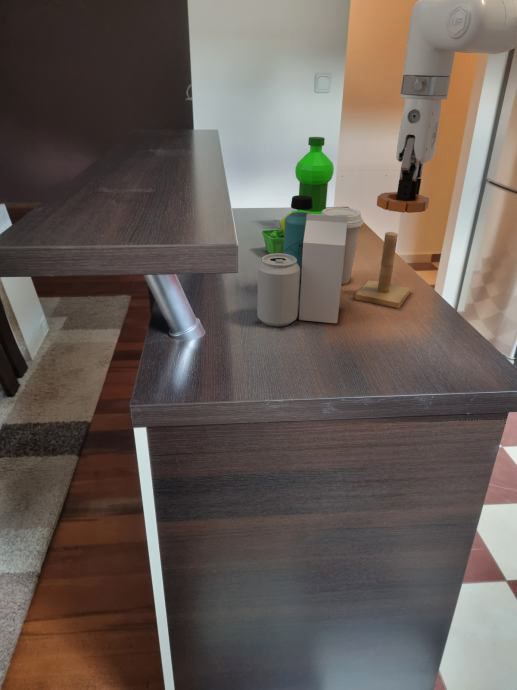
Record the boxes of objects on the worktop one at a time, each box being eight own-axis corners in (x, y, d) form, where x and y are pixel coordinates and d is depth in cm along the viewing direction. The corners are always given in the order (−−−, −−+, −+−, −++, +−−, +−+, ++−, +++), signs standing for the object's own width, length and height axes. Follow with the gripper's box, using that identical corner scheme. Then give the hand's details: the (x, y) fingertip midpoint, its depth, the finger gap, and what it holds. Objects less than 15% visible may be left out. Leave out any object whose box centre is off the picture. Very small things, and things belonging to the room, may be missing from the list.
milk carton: (337, 324, 94) (347, 221, 85) (298, 320, 95) (304, 219, 86) (338, 308, 100) (348, 211, 91) (302, 305, 102) (308, 209, 92)
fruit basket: (300, 245, 135) (303, 202, 130) (315, 256, 128) (318, 211, 123) (260, 250, 132) (260, 205, 126) (273, 261, 124) (274, 214, 119)
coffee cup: (309, 284, 111) (314, 215, 104) (317, 269, 119) (322, 204, 112) (354, 289, 109) (362, 219, 102) (358, 274, 117) (366, 208, 110)
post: (409, 293, 108) (420, 231, 102) (398, 308, 101) (408, 243, 95) (368, 285, 112) (375, 225, 105) (354, 299, 105) (362, 236, 98)
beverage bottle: (273, 293, 107) (277, 195, 97) (295, 285, 111) (301, 191, 101) (296, 303, 103) (302, 201, 93) (318, 294, 107) (326, 196, 97)
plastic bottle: (303, 237, 142) (309, 141, 130) (287, 227, 151) (291, 136, 139) (335, 233, 146) (343, 139, 134) (317, 224, 154) (323, 134, 142)
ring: (431, 204, 92) (432, 195, 92) (421, 215, 86) (422, 205, 85) (385, 199, 96) (386, 190, 95) (372, 208, 89) (373, 199, 88)
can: (292, 310, 100) (295, 250, 94) (301, 327, 93) (305, 264, 87) (254, 312, 98) (254, 251, 93) (260, 329, 92) (262, 266, 86)
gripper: (438, 91, 77) (418, 214, 85) (456, 88, 89) (436, 195, 98) (389, 89, 80) (374, 208, 88) (412, 86, 92) (397, 191, 101)
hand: (406, 201), depth 93 cm, fingers closed on ring, 2 cm apart
